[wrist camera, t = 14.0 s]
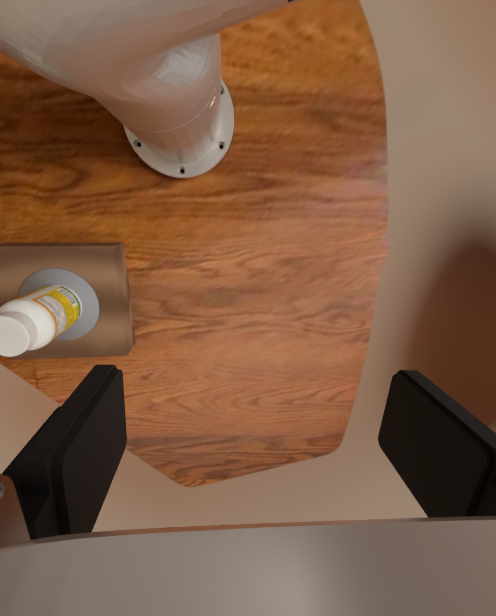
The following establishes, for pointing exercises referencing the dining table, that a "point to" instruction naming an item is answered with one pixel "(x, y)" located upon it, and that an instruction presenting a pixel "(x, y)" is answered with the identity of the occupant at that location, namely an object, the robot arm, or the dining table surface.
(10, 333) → the supplement bottle
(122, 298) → the walnut plinth
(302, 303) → the dining table surface
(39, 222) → the dining table surface
